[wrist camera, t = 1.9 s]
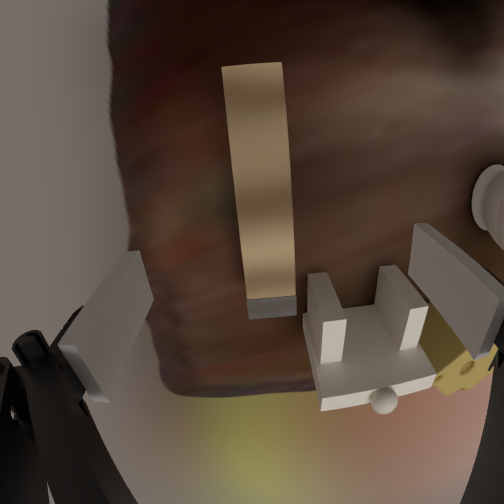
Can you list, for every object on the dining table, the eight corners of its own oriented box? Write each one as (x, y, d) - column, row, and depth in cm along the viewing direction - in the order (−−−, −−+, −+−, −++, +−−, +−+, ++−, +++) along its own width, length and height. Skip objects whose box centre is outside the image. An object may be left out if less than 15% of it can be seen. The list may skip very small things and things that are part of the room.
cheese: (425, 358, 37) (451, 407, 28) (394, 325, 34) (425, 382, 25) (476, 313, 34) (511, 356, 25) (454, 271, 31) (499, 317, 22)
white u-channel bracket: (302, 274, 31) (332, 377, 18) (399, 264, 30) (465, 348, 18) (302, 328, 34) (323, 430, 21) (390, 316, 33) (437, 403, 21)
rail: (227, 78, 23) (220, 66, 17) (275, 74, 22) (282, 61, 17) (249, 282, 31) (248, 319, 26) (288, 279, 31) (296, 315, 25)
